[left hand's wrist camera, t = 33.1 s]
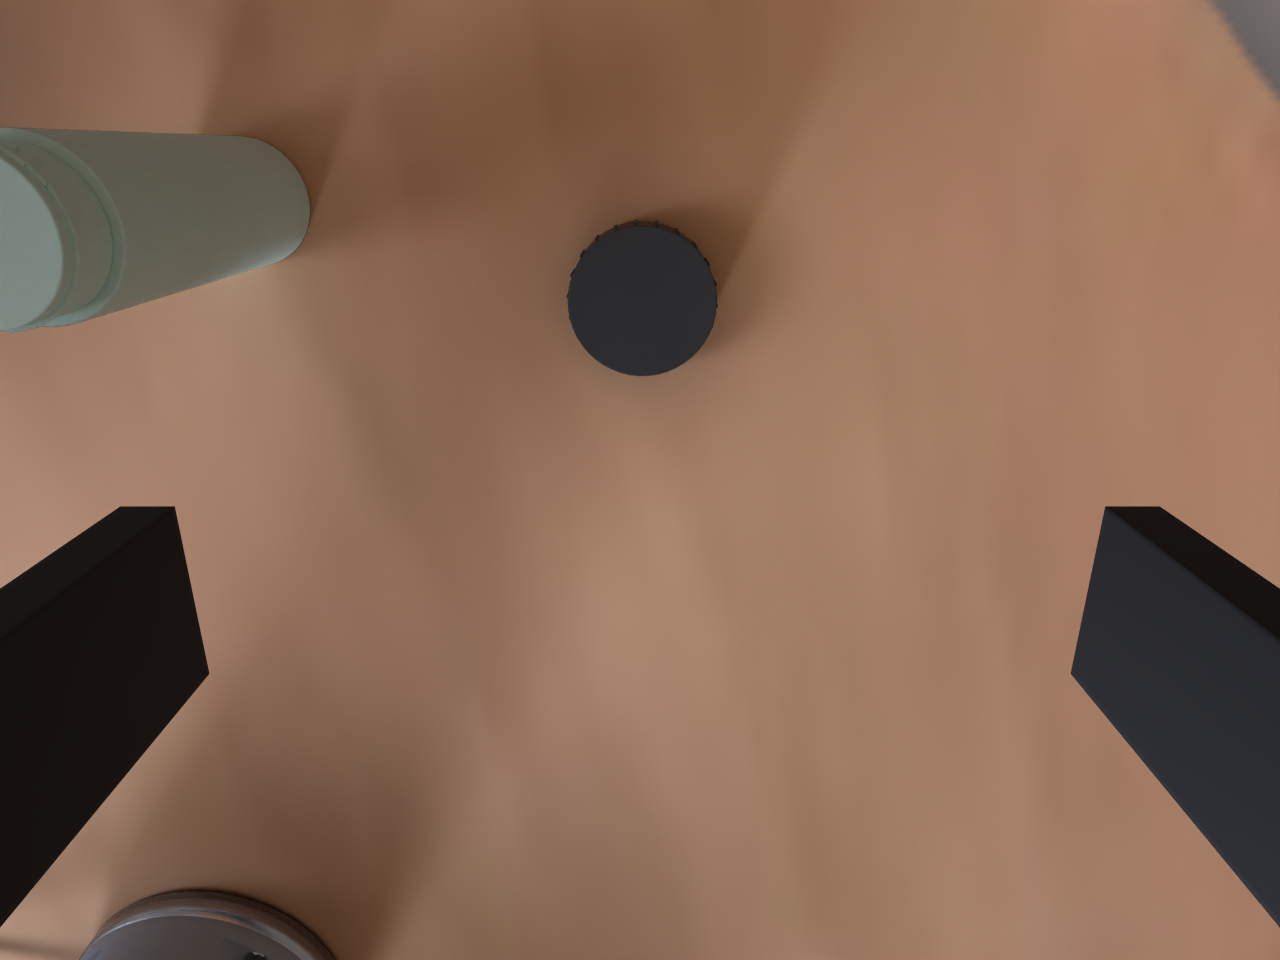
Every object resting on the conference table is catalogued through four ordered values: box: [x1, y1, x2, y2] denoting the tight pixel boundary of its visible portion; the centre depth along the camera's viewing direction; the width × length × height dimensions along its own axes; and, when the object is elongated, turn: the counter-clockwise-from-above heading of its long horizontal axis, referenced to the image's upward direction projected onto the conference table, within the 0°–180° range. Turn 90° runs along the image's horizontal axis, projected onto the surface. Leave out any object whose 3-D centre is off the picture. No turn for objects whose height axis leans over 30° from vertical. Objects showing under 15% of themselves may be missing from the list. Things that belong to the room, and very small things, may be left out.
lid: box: [567, 220, 718, 376], centre depth 36 cm, size 6×6×2 cm
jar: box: [0, 127, 310, 332], centre depth 28 cm, size 5×5×16 cm
